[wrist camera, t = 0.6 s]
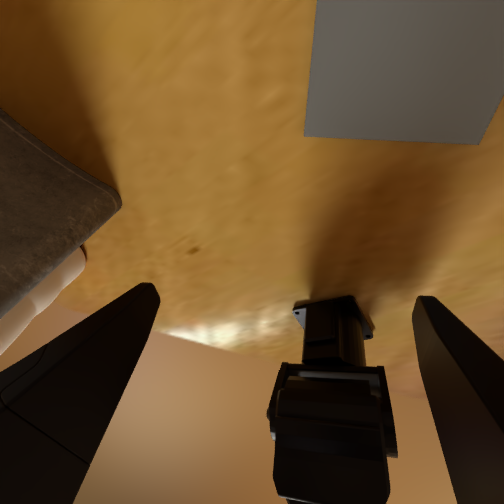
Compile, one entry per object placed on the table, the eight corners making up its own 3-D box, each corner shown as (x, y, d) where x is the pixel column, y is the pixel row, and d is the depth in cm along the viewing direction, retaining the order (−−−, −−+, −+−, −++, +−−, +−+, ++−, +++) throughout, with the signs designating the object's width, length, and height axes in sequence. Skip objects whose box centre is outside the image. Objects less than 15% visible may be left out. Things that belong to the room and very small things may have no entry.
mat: (474, 141, 16) (478, 144, 16) (304, 133, 18) (303, 136, 18) (611, -141, 10) (625, -149, 10) (328, -113, 12) (328, -118, 11)
